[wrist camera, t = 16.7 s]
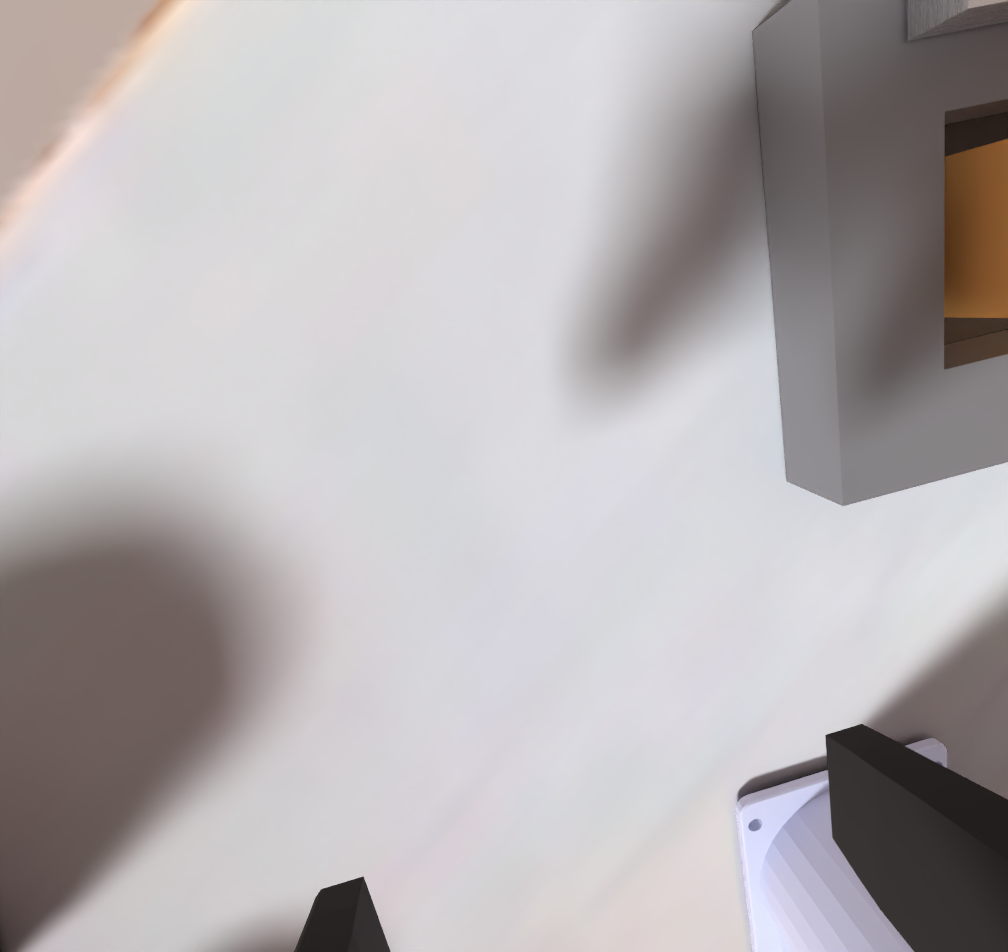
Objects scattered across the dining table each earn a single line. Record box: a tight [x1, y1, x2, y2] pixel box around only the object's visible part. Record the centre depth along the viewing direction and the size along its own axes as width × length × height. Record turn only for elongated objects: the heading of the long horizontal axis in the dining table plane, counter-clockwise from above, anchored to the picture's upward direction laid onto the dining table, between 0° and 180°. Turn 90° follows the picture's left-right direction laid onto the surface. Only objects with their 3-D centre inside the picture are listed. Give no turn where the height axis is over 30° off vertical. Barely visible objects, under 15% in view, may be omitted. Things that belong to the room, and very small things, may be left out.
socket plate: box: [752, 0, 1008, 506], centre depth 16 cm, size 12×12×2 cm
